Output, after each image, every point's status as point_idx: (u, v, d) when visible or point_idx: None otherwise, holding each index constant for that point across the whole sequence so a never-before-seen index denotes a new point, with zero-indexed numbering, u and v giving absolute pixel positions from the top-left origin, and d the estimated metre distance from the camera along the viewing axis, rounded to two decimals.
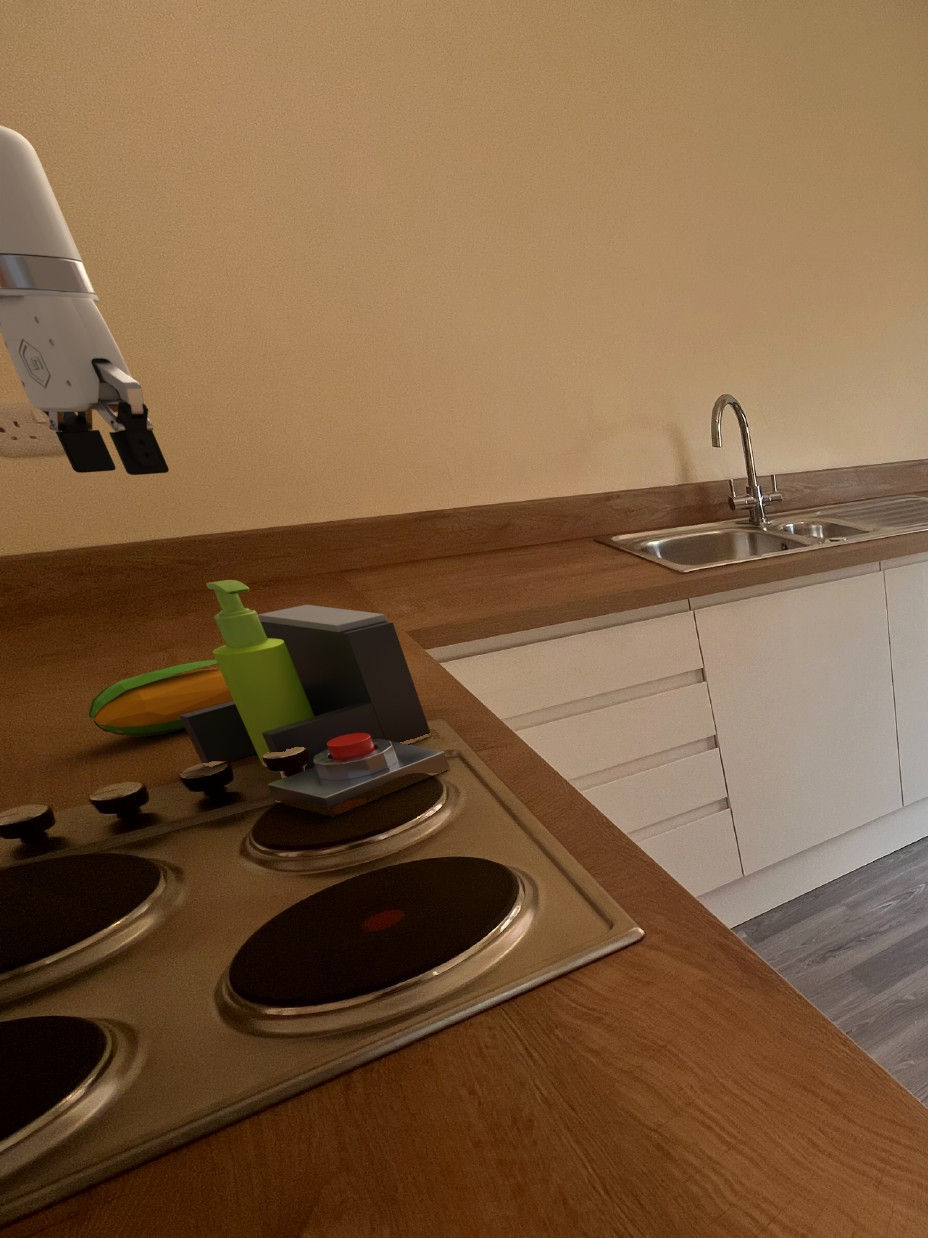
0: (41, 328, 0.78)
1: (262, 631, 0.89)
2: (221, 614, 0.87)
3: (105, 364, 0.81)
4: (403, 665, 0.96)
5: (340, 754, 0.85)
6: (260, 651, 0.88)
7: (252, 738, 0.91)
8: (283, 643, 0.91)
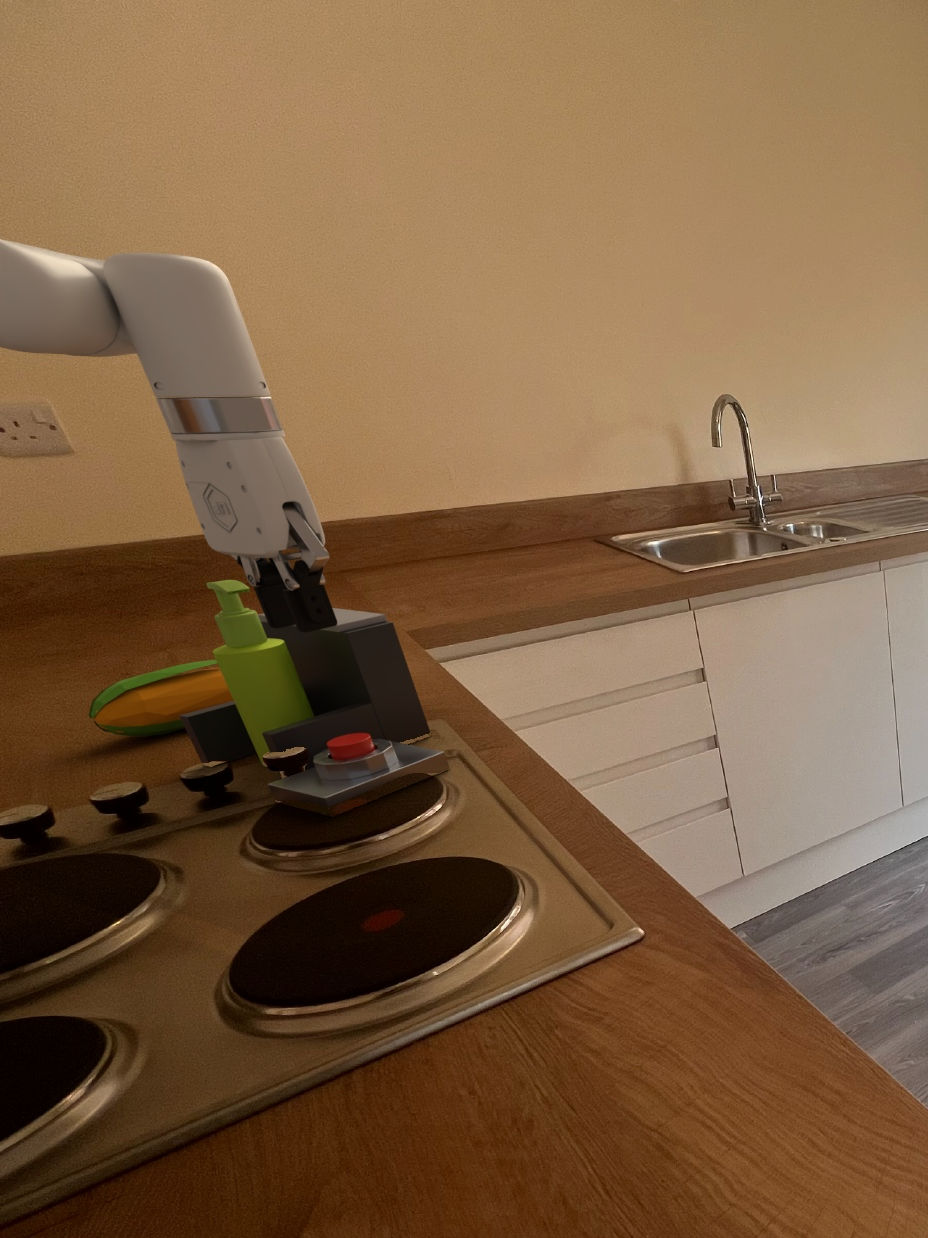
0: (233, 474, 0.71)
1: (262, 631, 0.89)
2: (221, 614, 0.87)
3: (296, 518, 0.75)
4: (403, 665, 0.96)
5: (340, 754, 0.85)
6: (261, 651, 0.88)
7: (252, 738, 0.91)
8: (283, 643, 0.91)
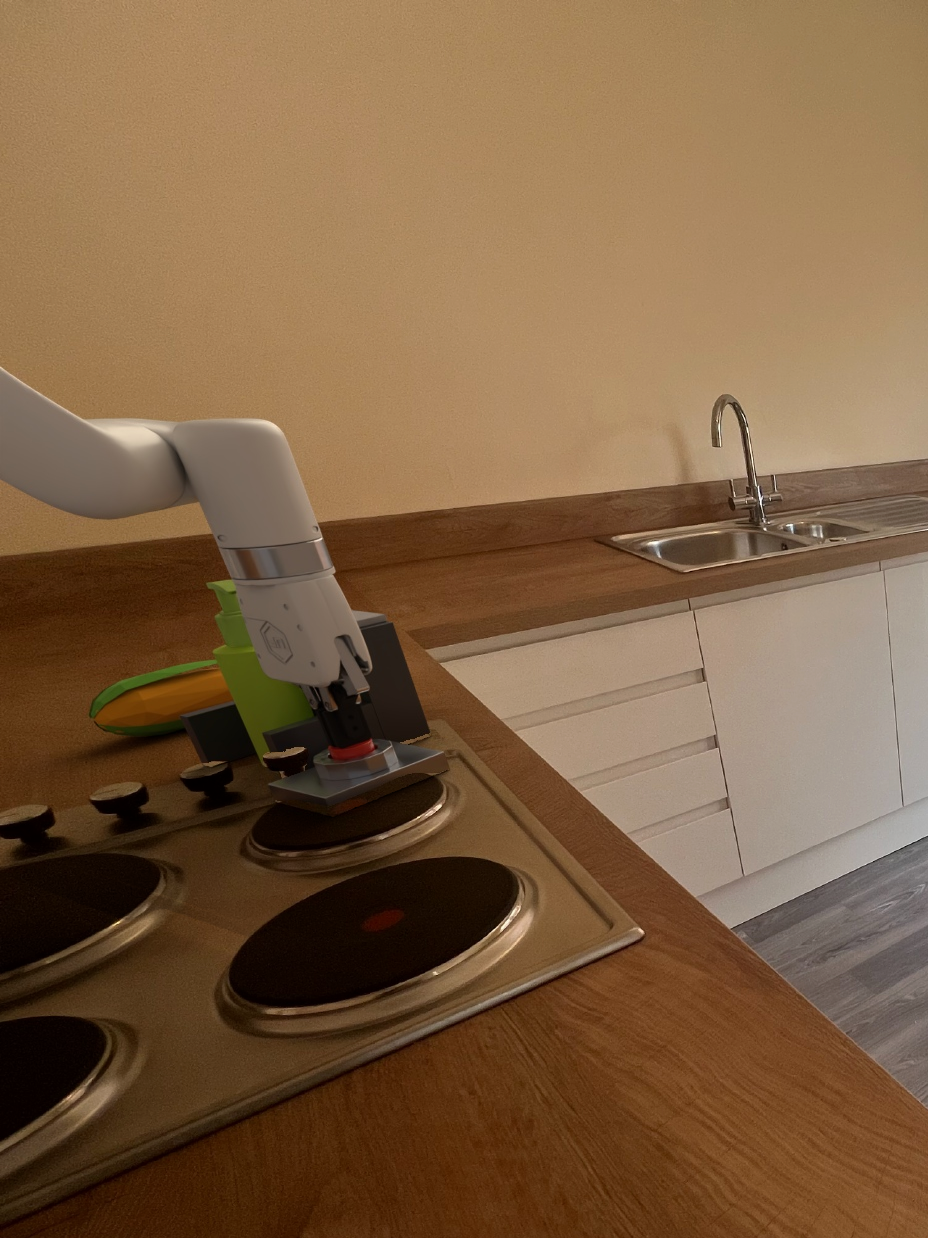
0: (289, 615, 0.77)
1: None
2: (221, 614, 0.87)
3: (345, 653, 0.80)
4: (403, 665, 0.96)
5: (341, 758, 0.85)
6: None
7: (252, 738, 0.91)
8: None
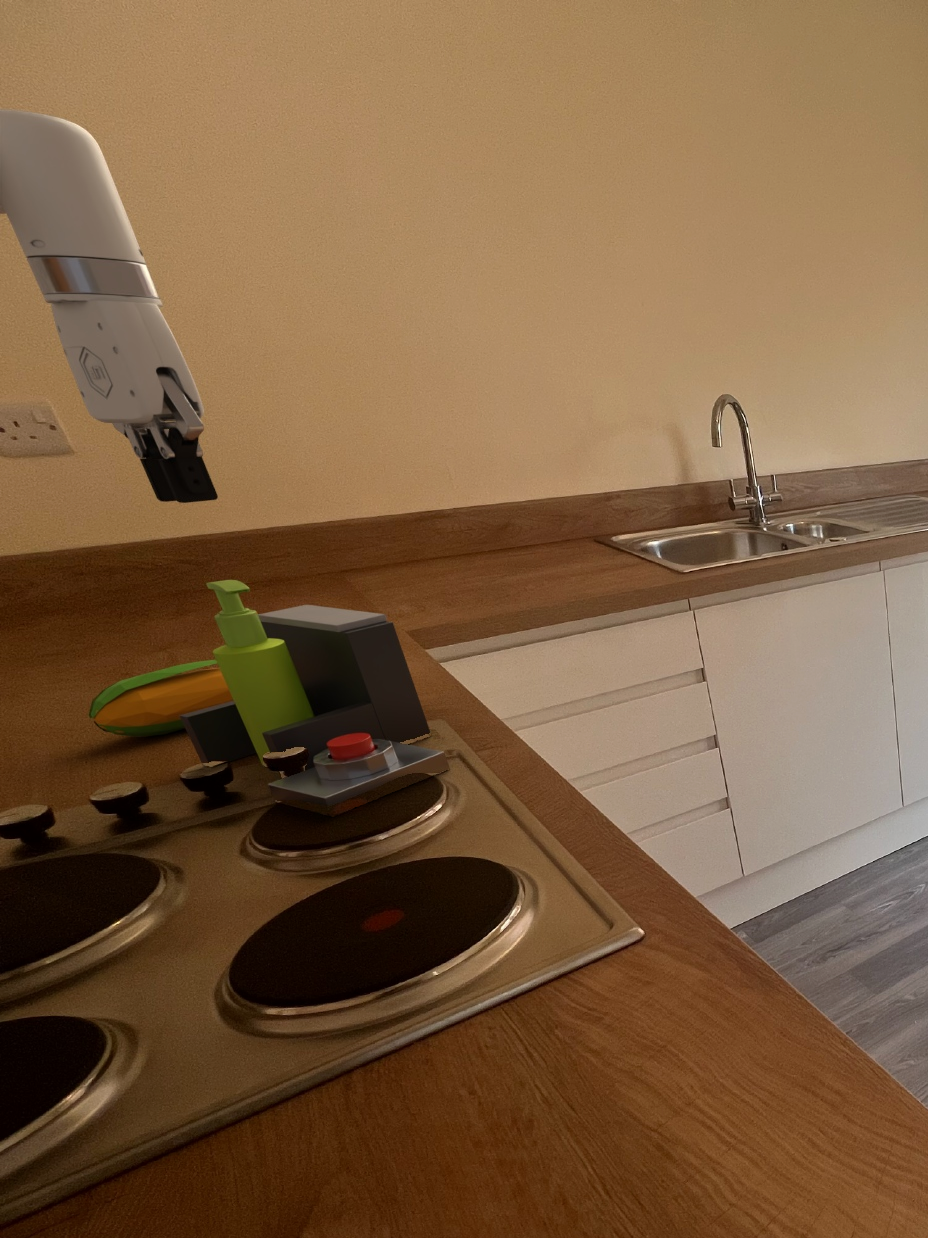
0: (104, 335, 0.74)
1: (262, 631, 0.89)
2: (221, 614, 0.87)
3: (172, 386, 0.77)
4: (403, 665, 0.96)
5: (340, 754, 0.85)
6: (261, 651, 0.88)
7: (252, 738, 0.91)
8: (283, 643, 0.91)
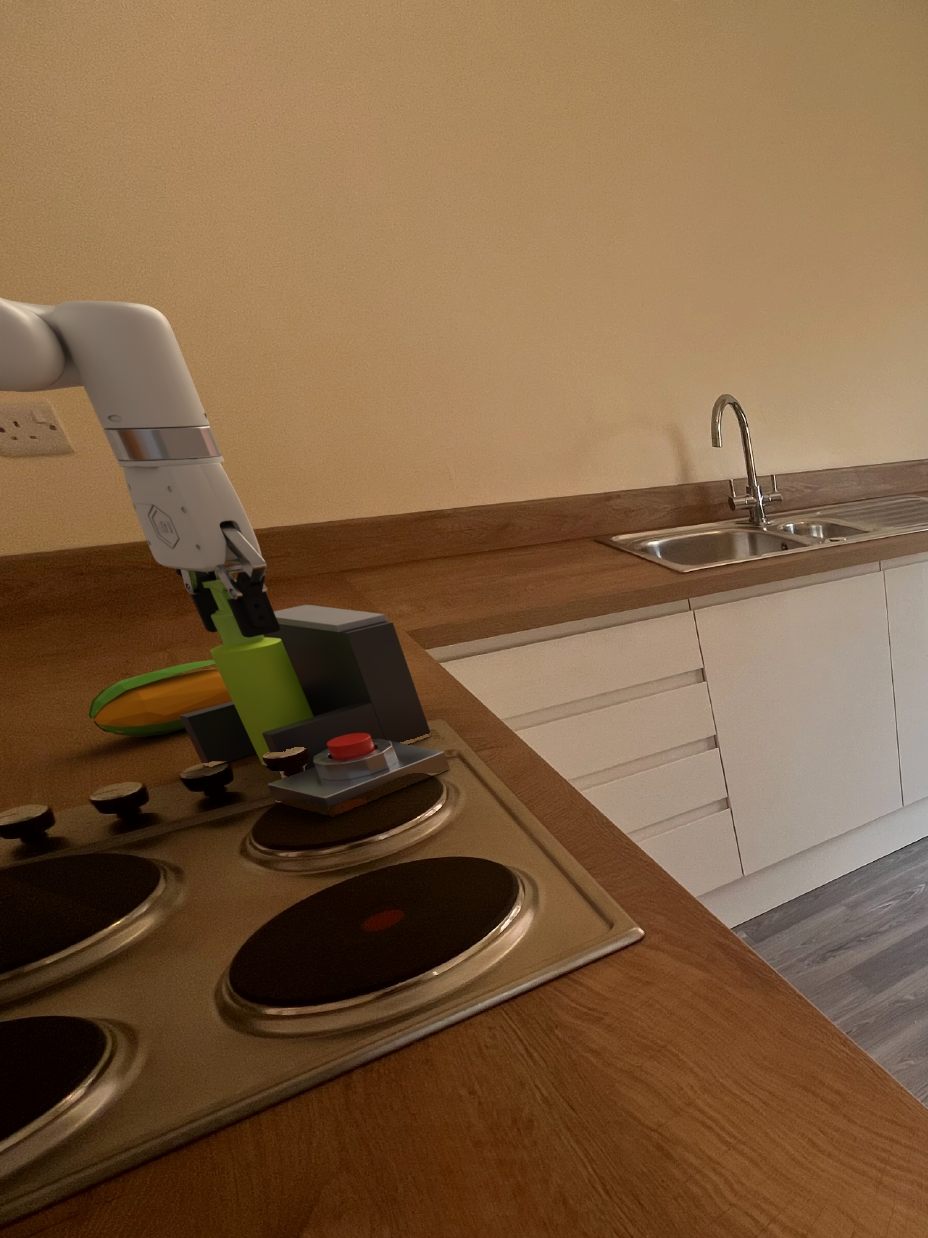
0: (173, 497, 0.79)
1: None
2: (218, 613, 0.87)
3: (233, 533, 0.83)
4: (403, 665, 0.96)
5: (340, 754, 0.85)
6: (257, 649, 0.88)
7: (251, 737, 0.91)
8: (280, 641, 0.91)
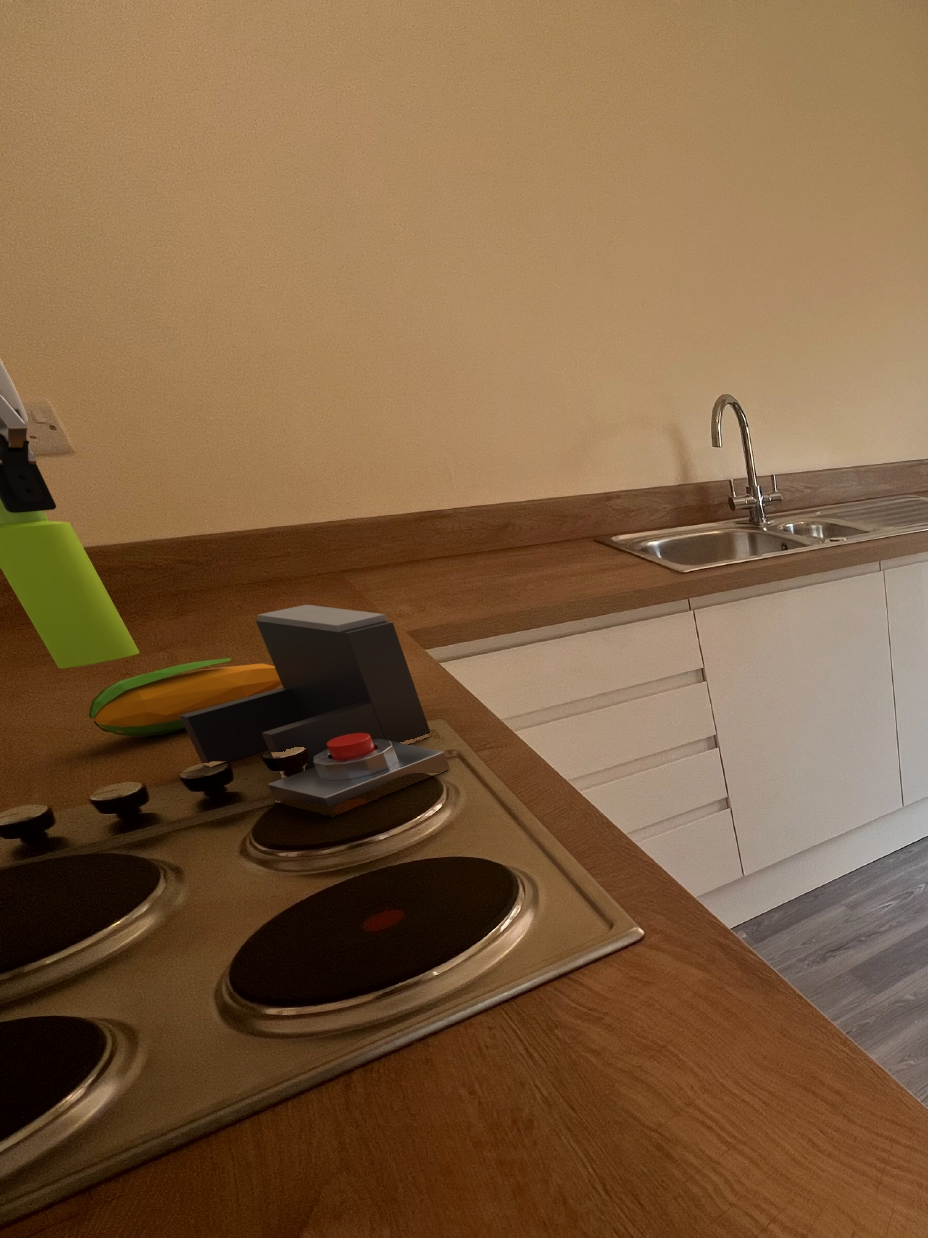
0: None
1: None
2: None
3: None
4: (403, 665, 0.96)
5: (340, 754, 0.85)
6: (34, 527, 0.78)
7: (40, 634, 0.81)
8: (67, 523, 0.81)
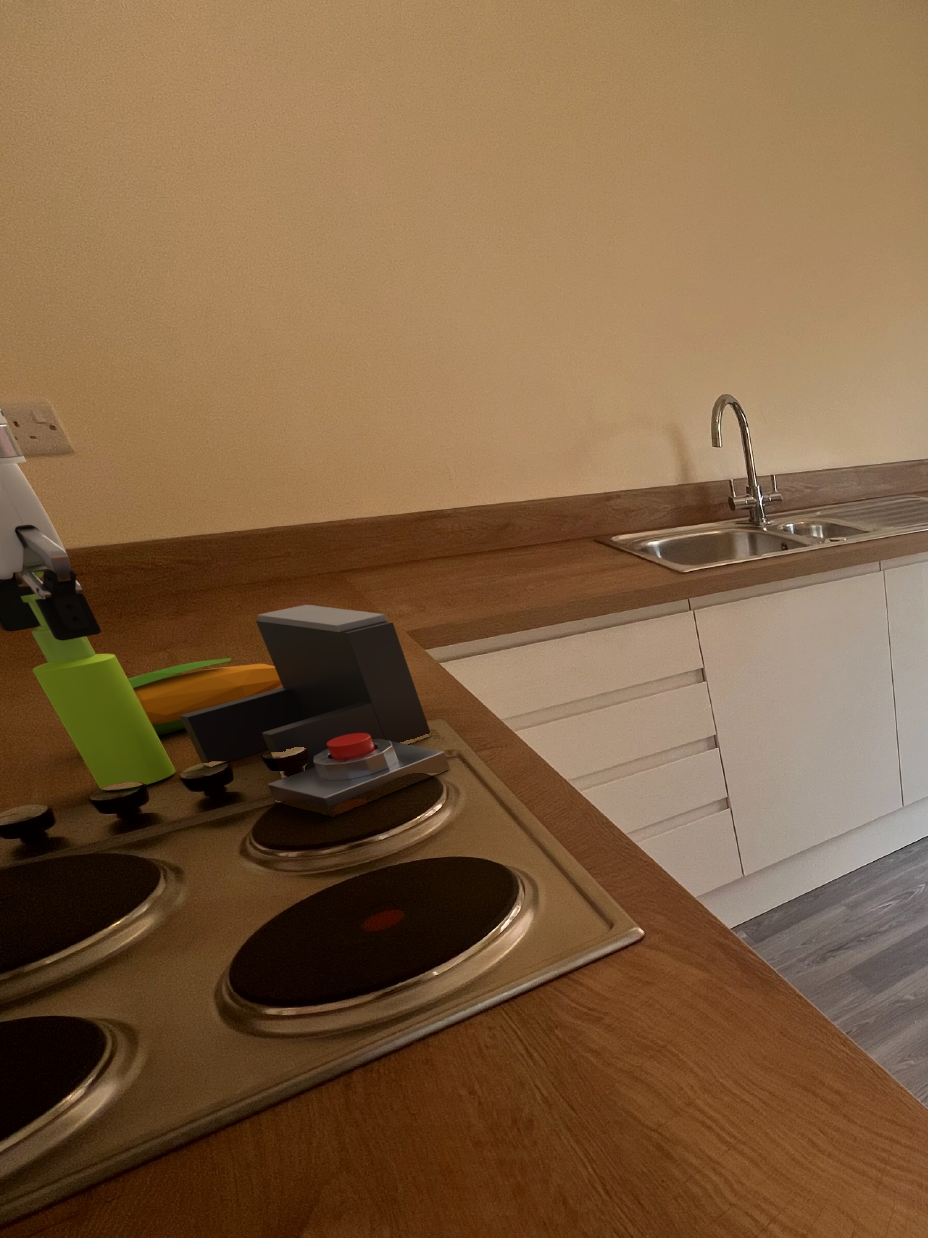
0: None
1: (88, 645, 0.84)
2: (38, 628, 0.82)
3: (30, 531, 0.77)
4: (403, 665, 0.96)
5: (340, 754, 0.85)
6: (84, 666, 0.83)
7: (84, 760, 0.86)
8: (113, 657, 0.86)
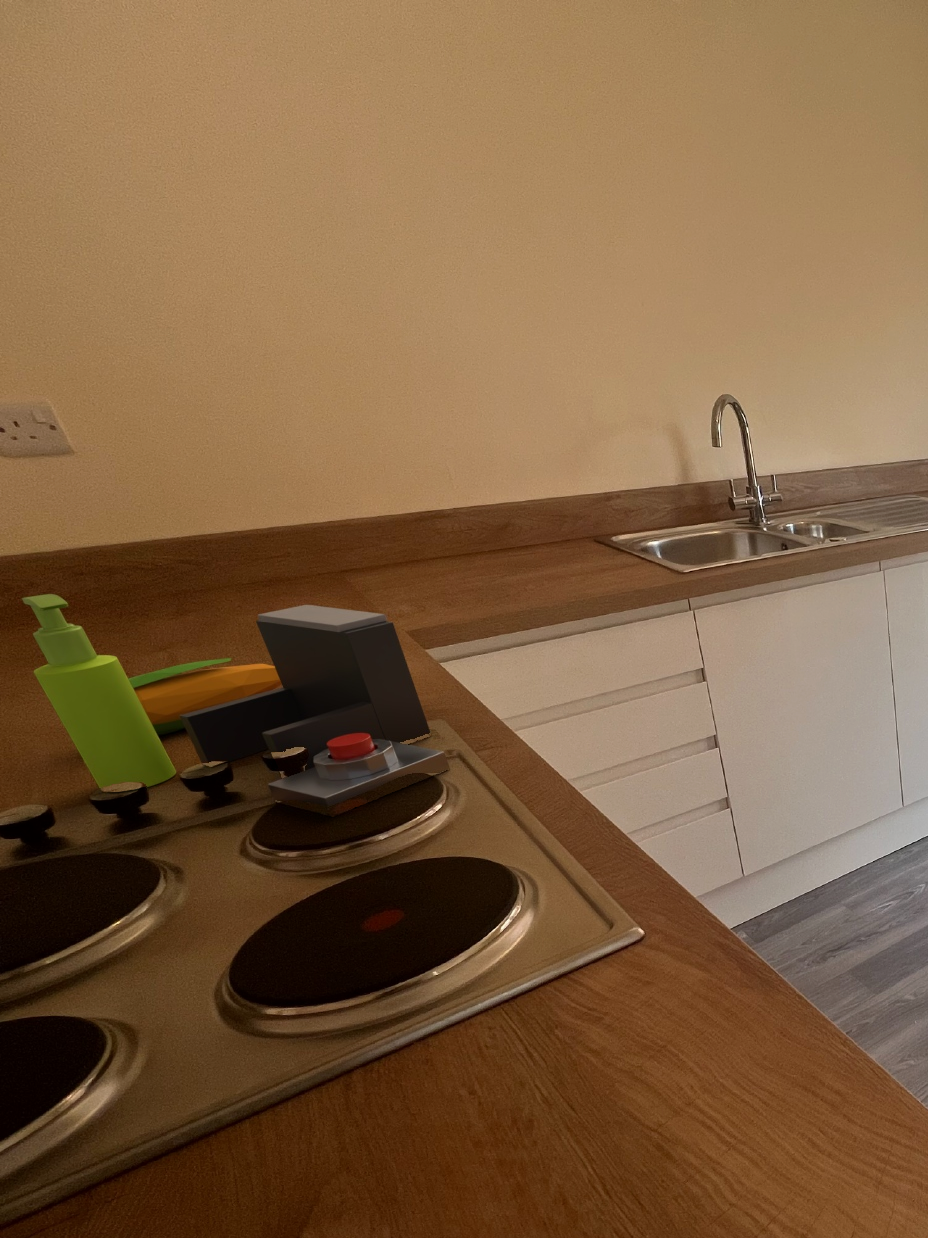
0: None
1: (90, 648, 0.84)
2: (40, 631, 0.81)
3: None
4: (403, 665, 0.96)
5: (340, 754, 0.85)
6: (87, 669, 0.83)
7: (86, 762, 0.86)
8: (115, 660, 0.85)
